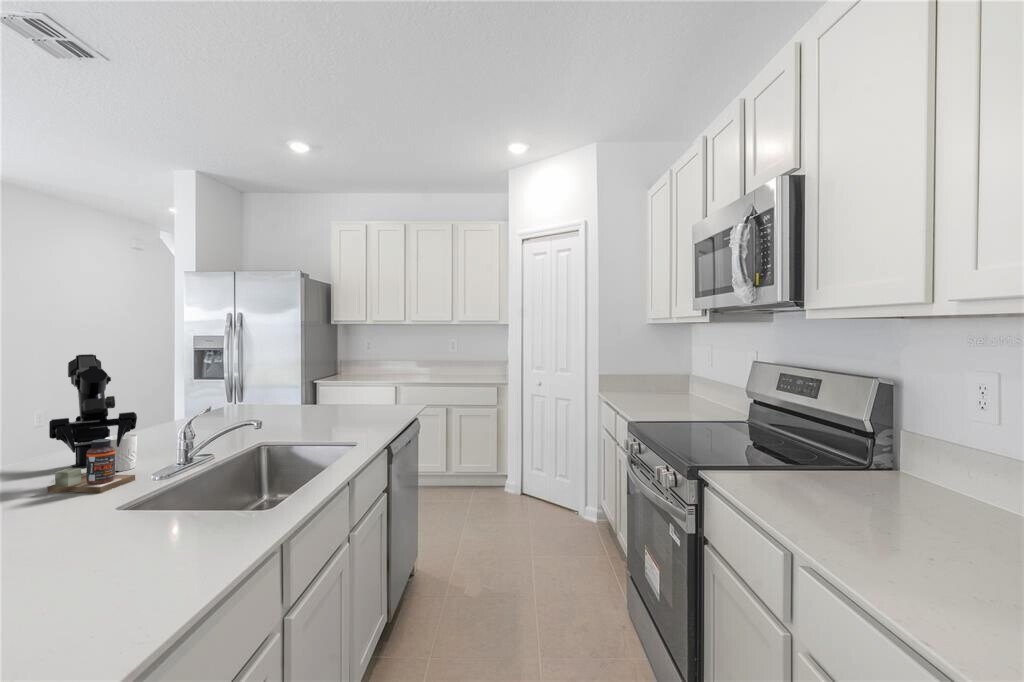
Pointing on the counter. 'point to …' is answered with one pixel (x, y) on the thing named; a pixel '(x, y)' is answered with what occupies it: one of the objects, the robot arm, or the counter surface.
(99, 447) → the supplement bottle
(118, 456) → the white cup
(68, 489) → the board
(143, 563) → the counter surface
